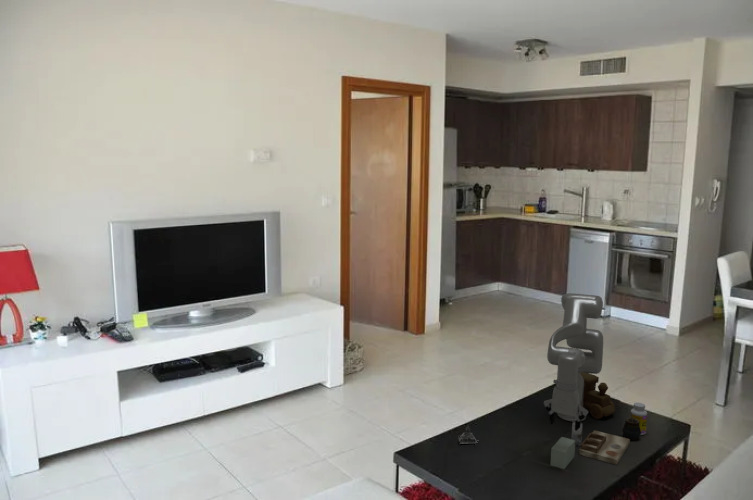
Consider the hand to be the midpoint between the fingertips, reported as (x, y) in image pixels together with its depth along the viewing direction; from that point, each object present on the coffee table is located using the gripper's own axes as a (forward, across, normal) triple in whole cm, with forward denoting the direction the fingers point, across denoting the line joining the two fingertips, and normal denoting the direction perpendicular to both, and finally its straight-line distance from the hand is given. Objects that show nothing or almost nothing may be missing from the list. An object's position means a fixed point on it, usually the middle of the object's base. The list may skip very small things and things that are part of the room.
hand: (564, 426), depth 242 cm
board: (+15, +11, +19) cm, 27 cm away
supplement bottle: (+16, +19, +43) cm, 50 cm away
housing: (+14, 0, -1) cm, 14 cm away
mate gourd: (+16, +18, +36) cm, 43 cm away
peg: (+15, 0, +17) cm, 23 cm away
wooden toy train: (+16, -4, +54) cm, 56 cm away
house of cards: (+15, -38, -6) cm, 41 cm away
